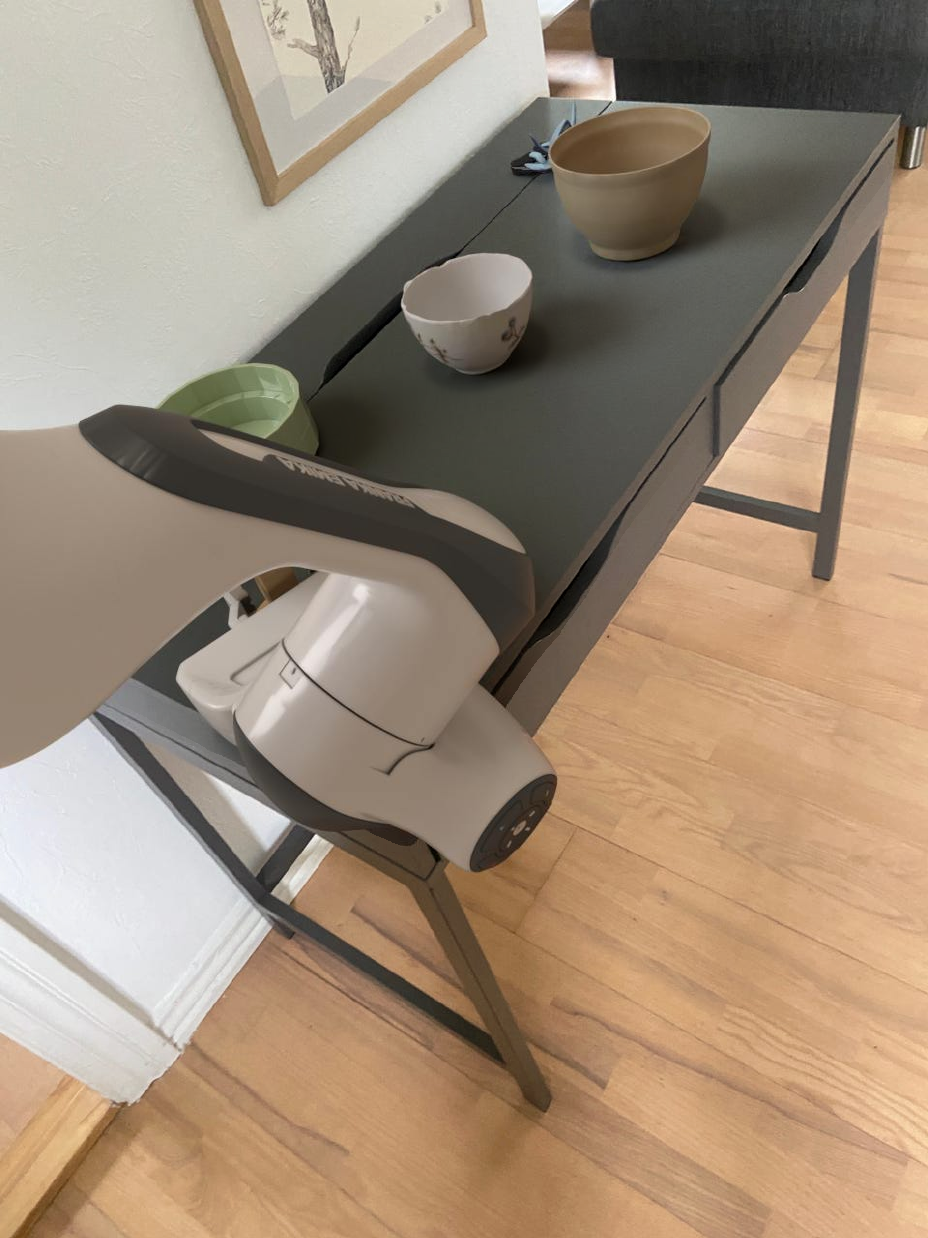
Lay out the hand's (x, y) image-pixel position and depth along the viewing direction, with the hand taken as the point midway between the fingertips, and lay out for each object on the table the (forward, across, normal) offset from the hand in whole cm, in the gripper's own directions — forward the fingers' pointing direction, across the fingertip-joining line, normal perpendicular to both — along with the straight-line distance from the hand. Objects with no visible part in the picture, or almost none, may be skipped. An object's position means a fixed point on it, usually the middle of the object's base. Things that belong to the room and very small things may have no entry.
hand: (269, 572), depth 69 cm
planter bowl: (+19, -56, +5) cm, 59 cm away
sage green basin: (+21, -7, +5) cm, 23 cm away
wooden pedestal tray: (-1, 0, +5) cm, 5 cm away
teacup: (+17, -32, +5) cm, 36 cm away
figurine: (+40, -64, +5) cm, 76 cm away
